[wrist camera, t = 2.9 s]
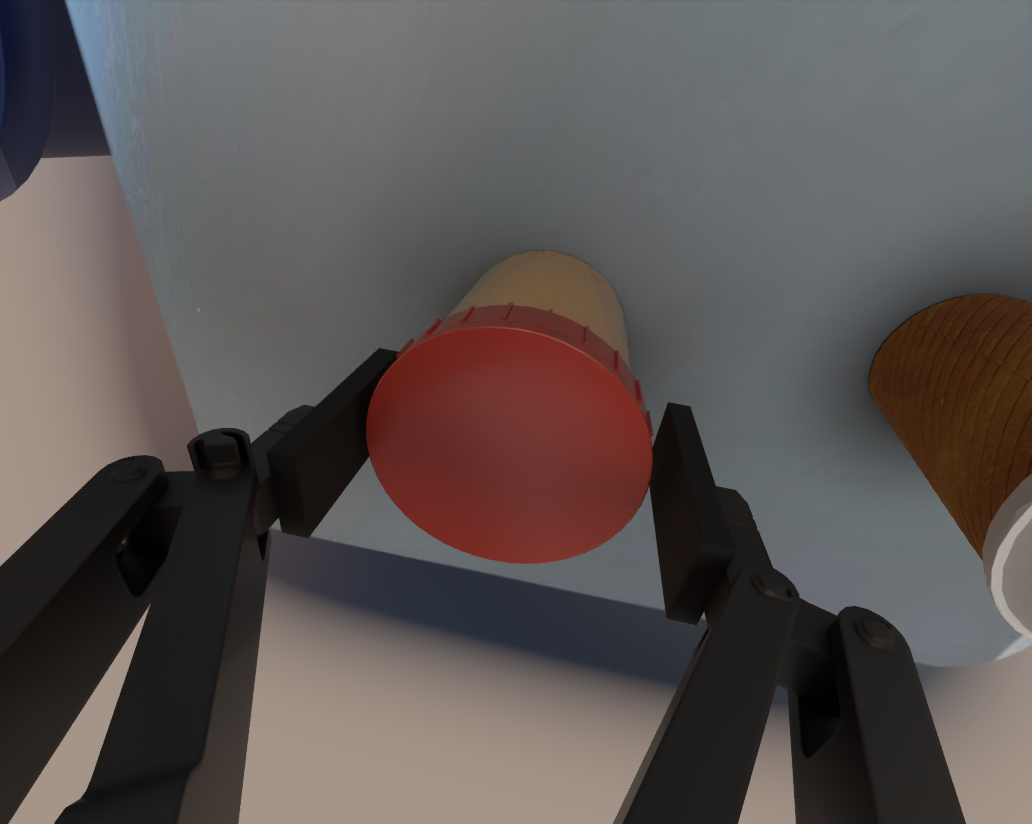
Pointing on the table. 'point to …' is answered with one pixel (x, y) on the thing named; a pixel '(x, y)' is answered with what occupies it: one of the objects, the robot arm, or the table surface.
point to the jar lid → (512, 435)
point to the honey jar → (554, 293)
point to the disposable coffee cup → (971, 427)
